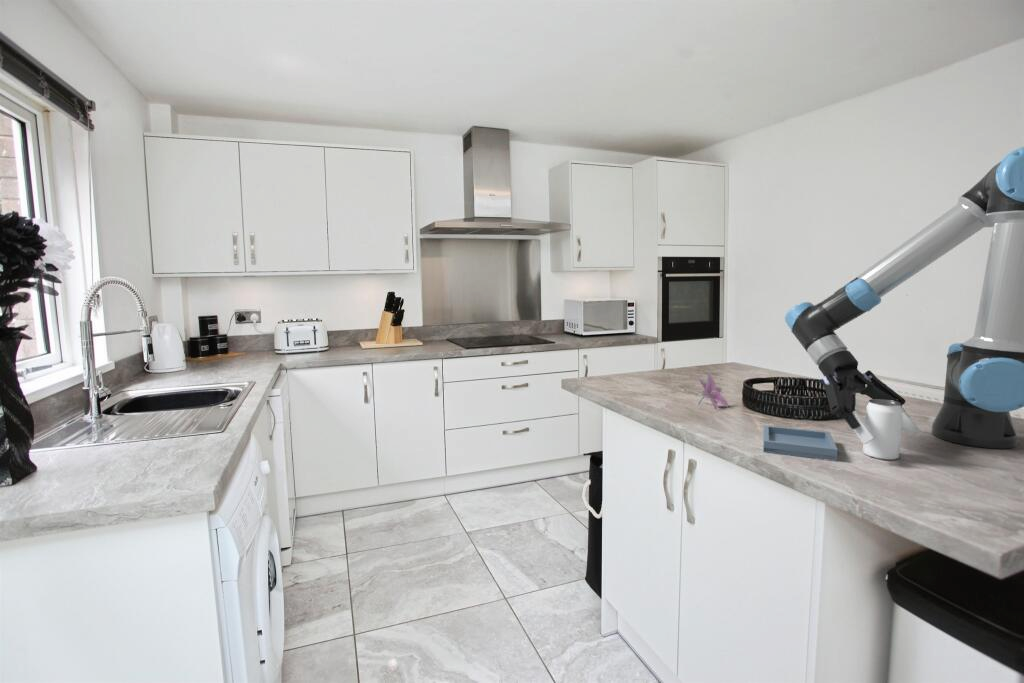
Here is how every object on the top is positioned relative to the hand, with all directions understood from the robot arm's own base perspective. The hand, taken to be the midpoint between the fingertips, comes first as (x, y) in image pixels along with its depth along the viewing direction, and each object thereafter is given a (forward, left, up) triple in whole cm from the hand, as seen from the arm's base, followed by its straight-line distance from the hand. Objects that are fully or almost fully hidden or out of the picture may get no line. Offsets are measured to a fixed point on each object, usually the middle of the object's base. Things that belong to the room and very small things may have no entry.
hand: (892, 437), depth 109 cm
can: (+2, -2, -5) cm, 5 cm away
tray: (+18, -1, -5) cm, 18 cm away
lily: (+39, -33, -5) cm, 51 cm away
